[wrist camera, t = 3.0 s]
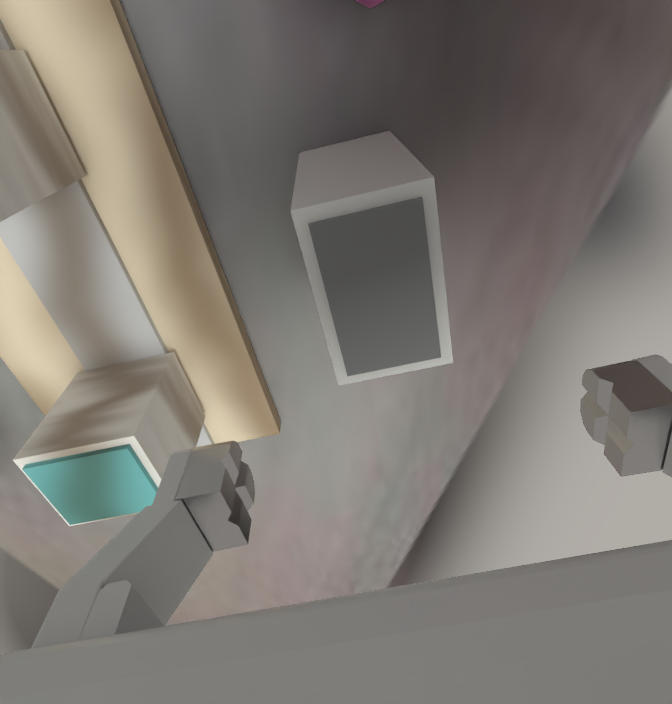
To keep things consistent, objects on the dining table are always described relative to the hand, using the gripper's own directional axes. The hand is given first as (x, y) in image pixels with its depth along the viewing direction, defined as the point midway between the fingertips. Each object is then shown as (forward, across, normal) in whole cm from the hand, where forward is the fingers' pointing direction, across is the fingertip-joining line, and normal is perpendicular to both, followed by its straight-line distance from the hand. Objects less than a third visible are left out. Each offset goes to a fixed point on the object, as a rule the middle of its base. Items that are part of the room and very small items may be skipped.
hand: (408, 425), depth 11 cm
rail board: (+16, +15, -1) cm, 22 cm away
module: (+16, 0, -1) cm, 16 cm away
